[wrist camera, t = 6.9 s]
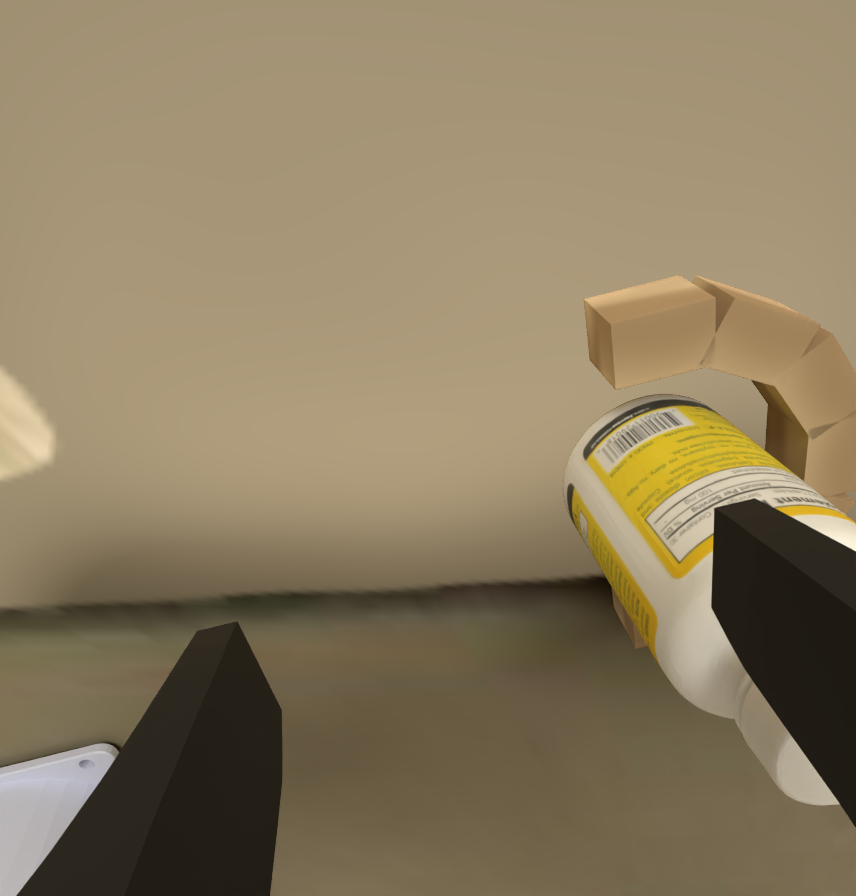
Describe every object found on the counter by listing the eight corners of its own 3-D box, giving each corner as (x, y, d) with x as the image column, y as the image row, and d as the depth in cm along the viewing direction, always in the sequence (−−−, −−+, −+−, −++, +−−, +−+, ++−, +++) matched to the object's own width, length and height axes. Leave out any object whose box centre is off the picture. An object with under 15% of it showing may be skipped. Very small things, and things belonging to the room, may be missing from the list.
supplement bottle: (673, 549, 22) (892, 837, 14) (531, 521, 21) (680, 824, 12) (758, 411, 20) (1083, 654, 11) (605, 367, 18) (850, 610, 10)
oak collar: (613, 606, 23) (635, 648, 22) (584, 299, 17) (610, 324, 16) (806, 558, 23) (843, 597, 22) (843, 233, 17) (898, 251, 16)
